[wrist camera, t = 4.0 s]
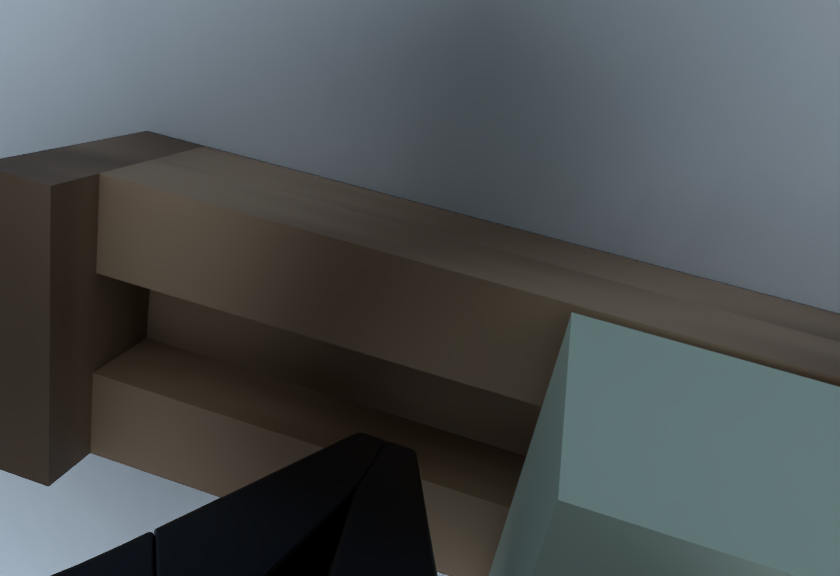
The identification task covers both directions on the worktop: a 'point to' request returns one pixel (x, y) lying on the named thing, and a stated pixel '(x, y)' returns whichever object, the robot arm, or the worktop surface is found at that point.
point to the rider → (674, 465)
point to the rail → (312, 326)
